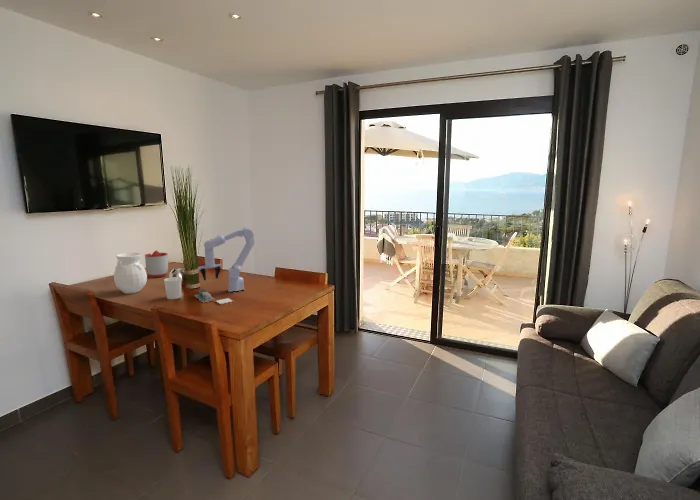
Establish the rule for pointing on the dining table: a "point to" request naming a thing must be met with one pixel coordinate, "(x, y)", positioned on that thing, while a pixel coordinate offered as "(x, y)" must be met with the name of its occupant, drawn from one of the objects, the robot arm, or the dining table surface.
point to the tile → (224, 301)
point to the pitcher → (129, 273)
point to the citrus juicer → (156, 264)
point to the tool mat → (202, 298)
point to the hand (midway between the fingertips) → (210, 279)
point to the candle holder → (173, 287)
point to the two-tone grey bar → (204, 294)
